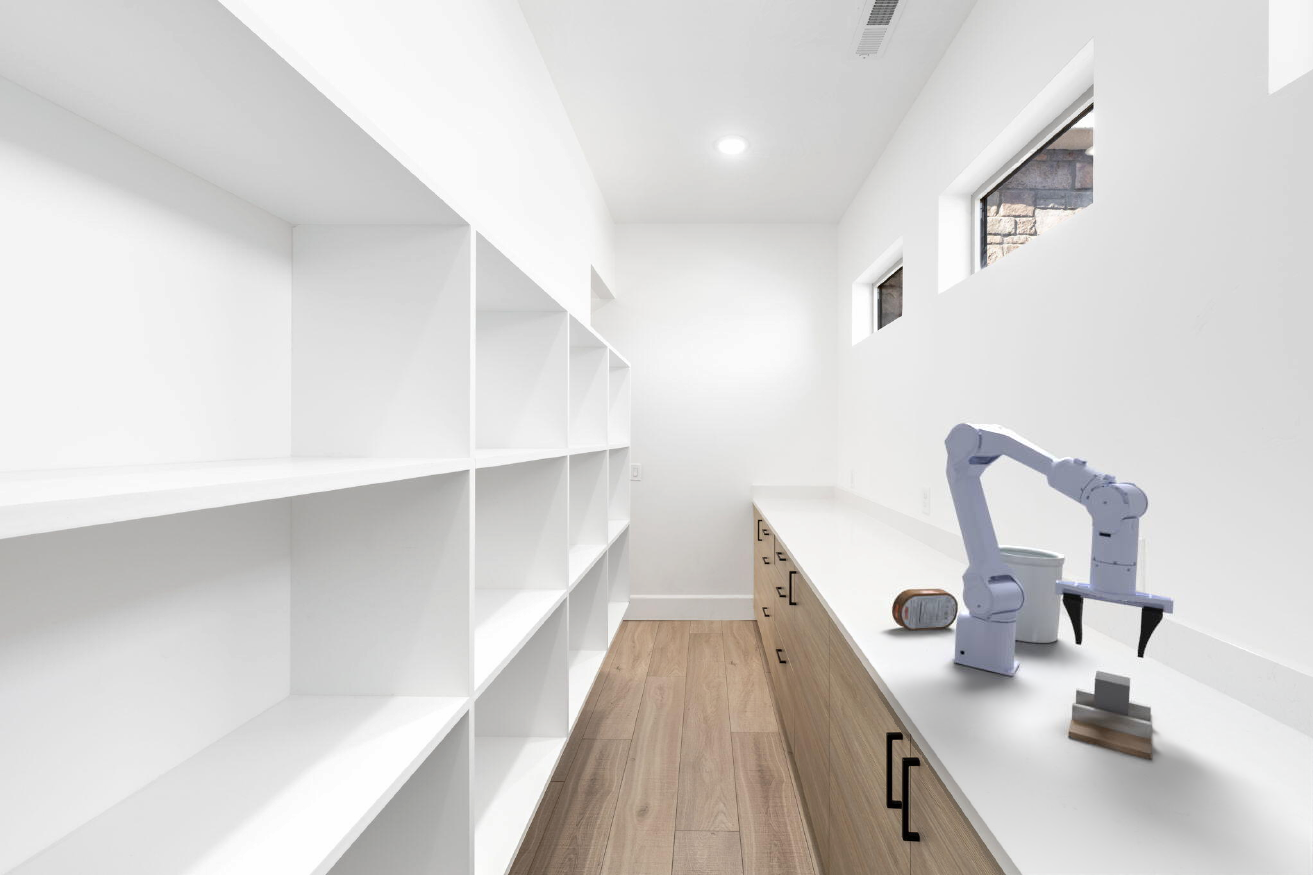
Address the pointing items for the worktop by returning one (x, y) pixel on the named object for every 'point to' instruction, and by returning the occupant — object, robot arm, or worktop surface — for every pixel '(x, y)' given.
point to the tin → (924, 609)
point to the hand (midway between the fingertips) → (1108, 649)
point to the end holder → (1112, 726)
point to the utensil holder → (1036, 591)
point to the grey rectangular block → (1112, 693)
